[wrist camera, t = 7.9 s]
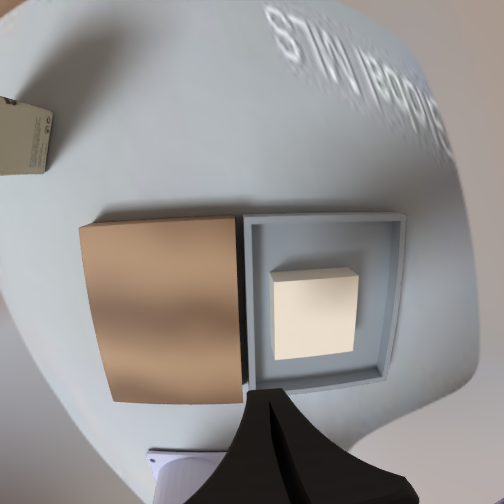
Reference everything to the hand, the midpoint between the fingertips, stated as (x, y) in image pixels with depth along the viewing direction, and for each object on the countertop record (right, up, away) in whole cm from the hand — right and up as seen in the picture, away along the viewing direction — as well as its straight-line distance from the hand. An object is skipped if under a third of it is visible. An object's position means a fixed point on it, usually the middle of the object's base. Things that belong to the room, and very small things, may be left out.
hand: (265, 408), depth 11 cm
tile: (+3, +2, +9) cm, 10 cm away
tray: (+4, +3, +9) cm, 10 cm away
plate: (-6, +2, +9) cm, 11 cm away
